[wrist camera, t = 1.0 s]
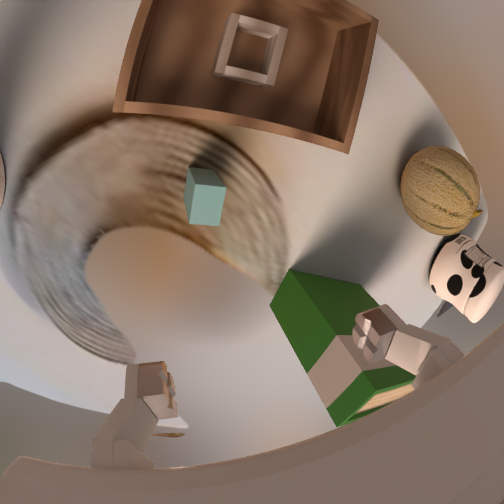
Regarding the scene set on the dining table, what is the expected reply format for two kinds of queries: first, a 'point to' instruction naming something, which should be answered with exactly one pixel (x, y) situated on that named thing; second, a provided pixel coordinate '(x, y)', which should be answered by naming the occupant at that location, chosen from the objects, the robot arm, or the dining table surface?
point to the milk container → (466, 277)
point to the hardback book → (336, 345)
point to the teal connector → (204, 196)
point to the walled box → (251, 65)
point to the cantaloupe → (440, 190)
